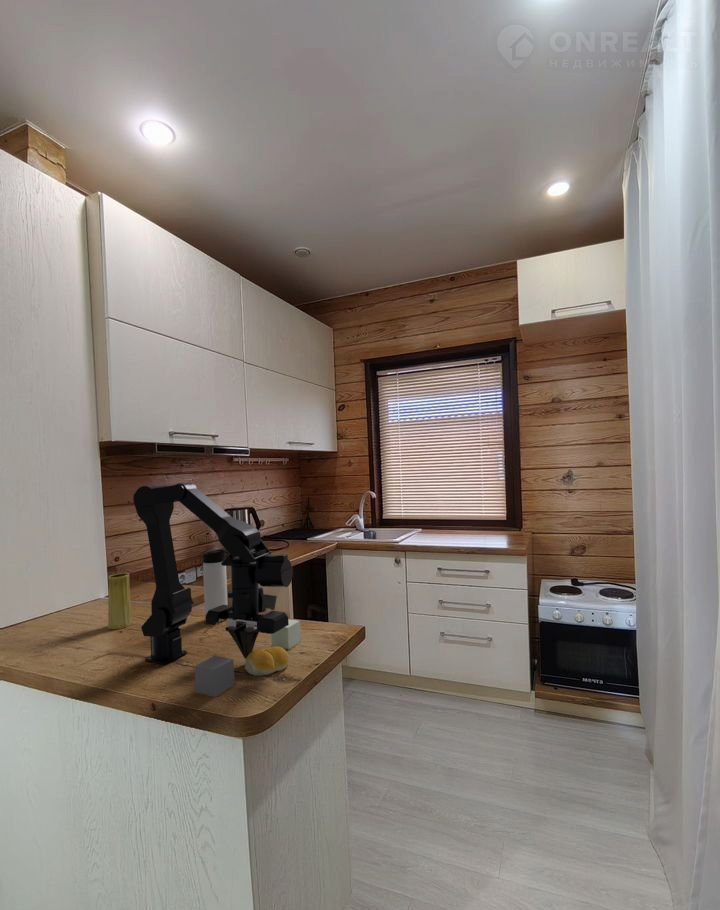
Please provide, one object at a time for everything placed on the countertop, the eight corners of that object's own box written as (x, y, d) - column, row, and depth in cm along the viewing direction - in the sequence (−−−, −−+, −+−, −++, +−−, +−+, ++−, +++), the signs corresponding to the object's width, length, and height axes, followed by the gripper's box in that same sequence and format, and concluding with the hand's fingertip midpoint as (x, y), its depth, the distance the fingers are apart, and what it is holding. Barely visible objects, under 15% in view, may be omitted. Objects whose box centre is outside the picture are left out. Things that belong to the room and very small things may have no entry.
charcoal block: (195, 692, 83) (194, 665, 83) (215, 680, 88) (214, 655, 88) (215, 697, 81) (214, 670, 81) (234, 685, 85) (233, 659, 86)
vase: (136, 623, 125) (135, 573, 126) (115, 631, 120) (113, 578, 121) (125, 620, 129) (123, 571, 129) (103, 627, 123) (102, 576, 124)
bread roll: (296, 666, 92) (295, 647, 93) (256, 680, 87) (255, 660, 87) (277, 655, 99) (276, 637, 99) (239, 667, 93) (238, 648, 93)
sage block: (271, 646, 104) (270, 625, 104) (284, 639, 108) (283, 618, 108) (288, 649, 102) (287, 627, 102) (301, 641, 106) (300, 620, 106)
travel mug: (222, 623, 122) (219, 551, 122) (200, 623, 123) (198, 551, 124) (233, 616, 128) (230, 547, 129) (212, 615, 129) (210, 547, 130)
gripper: (301, 579, 99) (304, 649, 98) (237, 574, 107) (240, 639, 106) (270, 592, 89) (273, 671, 88) (202, 586, 97) (205, 657, 96)
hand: (247, 658), depth 95 cm, fingers closed
